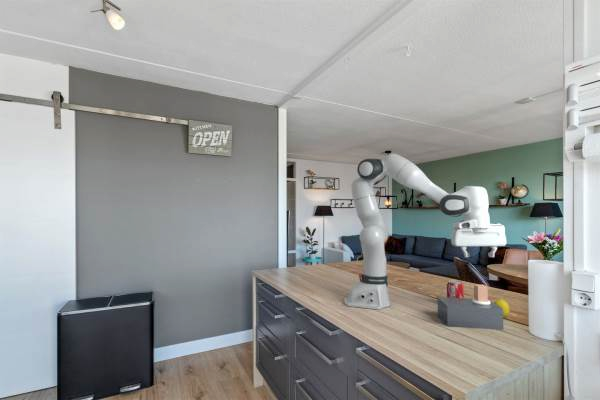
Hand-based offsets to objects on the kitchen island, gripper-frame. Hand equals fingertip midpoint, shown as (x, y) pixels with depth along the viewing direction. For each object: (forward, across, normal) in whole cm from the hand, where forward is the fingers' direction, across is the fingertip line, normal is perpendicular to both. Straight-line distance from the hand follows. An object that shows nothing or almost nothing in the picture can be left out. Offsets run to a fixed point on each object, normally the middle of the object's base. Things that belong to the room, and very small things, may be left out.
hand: (479, 257), depth 116 cm
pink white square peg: (+24, +1, 0) cm, 24 cm away
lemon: (+27, -10, -6) cm, 29 cm away
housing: (+26, +6, 0) cm, 27 cm away
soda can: (+26, +3, -19) cm, 33 cm away
